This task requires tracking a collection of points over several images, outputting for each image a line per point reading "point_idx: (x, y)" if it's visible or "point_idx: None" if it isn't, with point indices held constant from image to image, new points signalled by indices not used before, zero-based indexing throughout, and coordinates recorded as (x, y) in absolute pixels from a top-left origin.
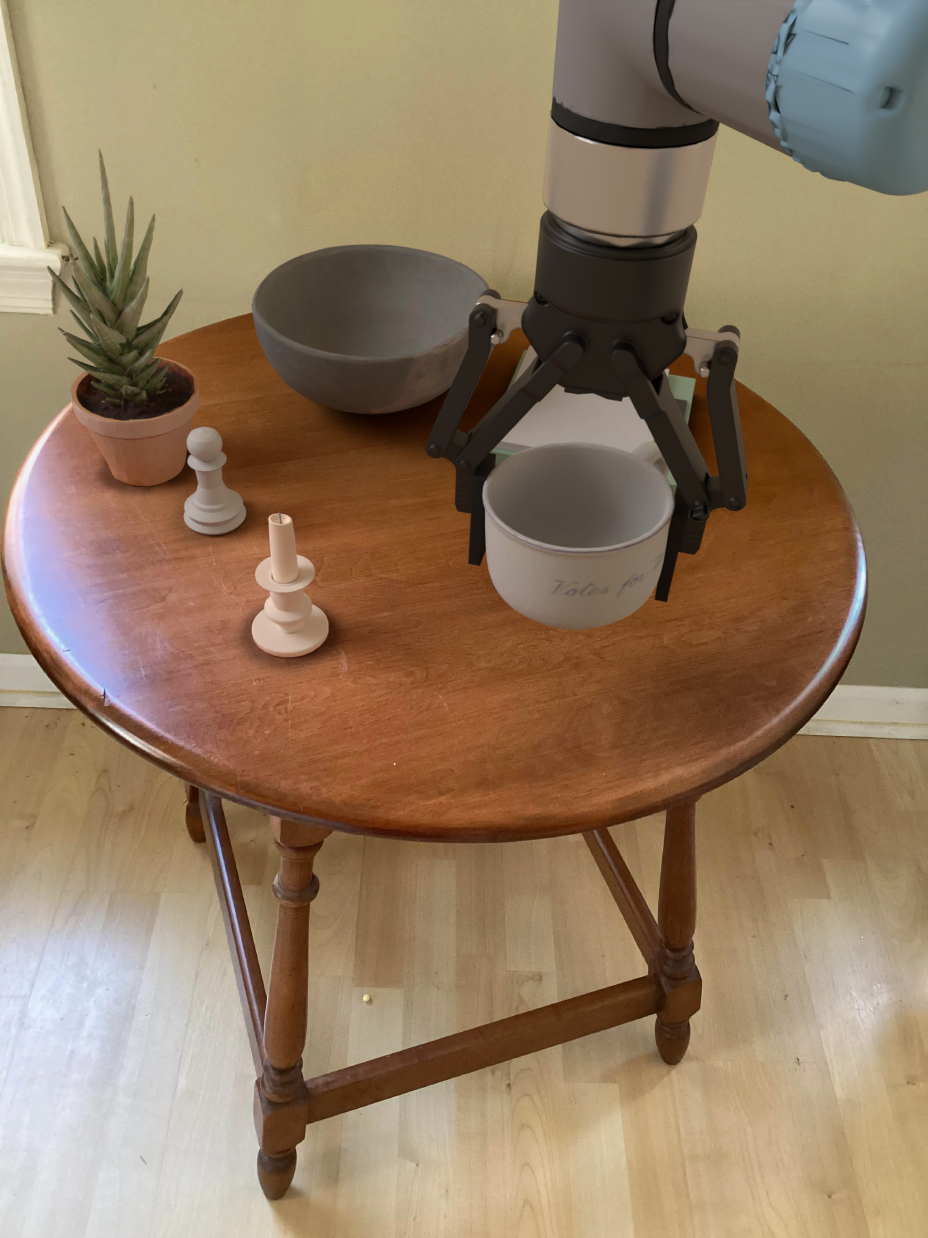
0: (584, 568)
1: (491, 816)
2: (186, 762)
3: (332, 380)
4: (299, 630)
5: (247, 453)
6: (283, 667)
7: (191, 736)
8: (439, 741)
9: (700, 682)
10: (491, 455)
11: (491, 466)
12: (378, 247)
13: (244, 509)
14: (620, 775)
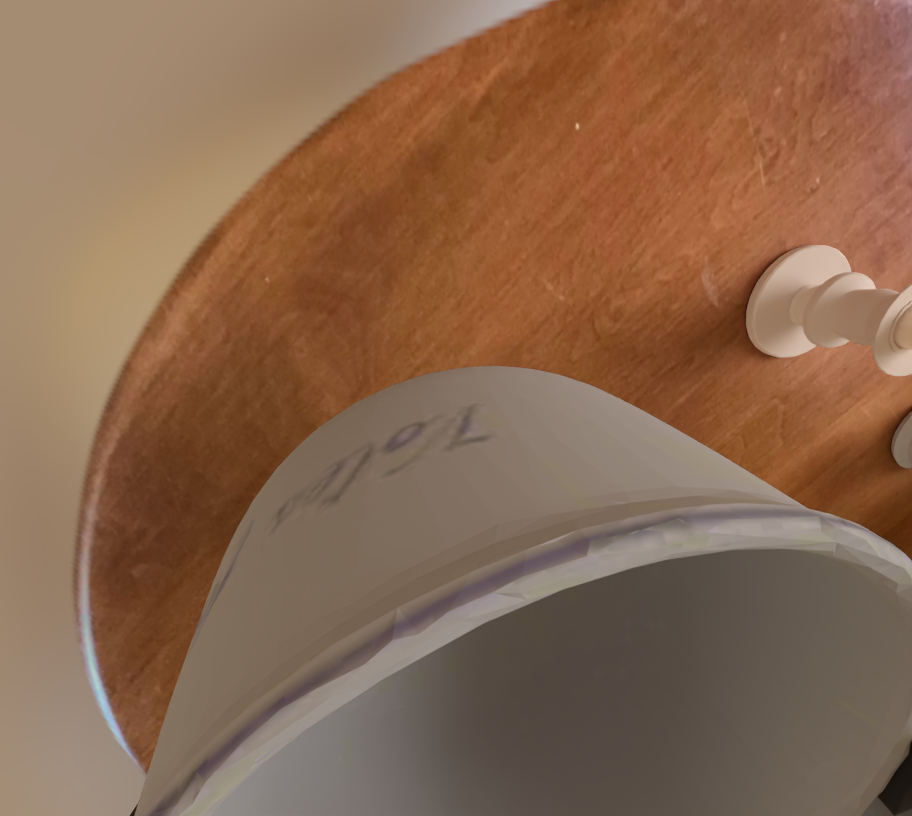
0: (376, 540)
1: (389, 91)
2: None
3: None
4: (791, 300)
5: (904, 538)
6: (786, 232)
7: (883, 19)
8: (530, 210)
9: (230, 518)
10: (907, 802)
11: (904, 770)
12: None
13: (898, 458)
14: (242, 290)
